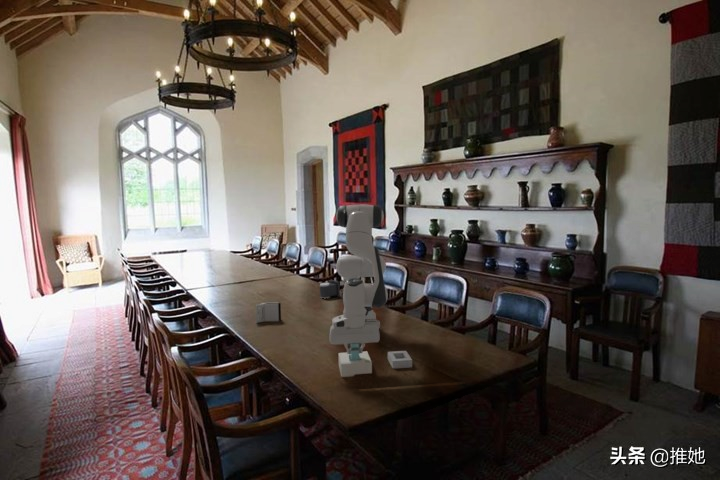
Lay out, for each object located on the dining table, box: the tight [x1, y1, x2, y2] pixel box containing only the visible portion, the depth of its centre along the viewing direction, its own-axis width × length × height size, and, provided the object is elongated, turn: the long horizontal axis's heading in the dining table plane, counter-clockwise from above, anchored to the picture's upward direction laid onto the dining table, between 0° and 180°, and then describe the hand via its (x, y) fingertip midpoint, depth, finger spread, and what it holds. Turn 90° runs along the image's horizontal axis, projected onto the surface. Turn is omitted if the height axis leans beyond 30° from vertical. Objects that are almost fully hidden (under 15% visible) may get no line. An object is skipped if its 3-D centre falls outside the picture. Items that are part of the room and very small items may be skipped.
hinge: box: [254, 301, 282, 324], centre depth 229 cm, size 14×5×10 cm, turn 104°
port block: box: [338, 350, 373, 378], centre depth 164 cm, size 12×12×5 cm
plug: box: [349, 343, 360, 361], centre depth 163 cm, size 4×3×10 cm
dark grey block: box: [318, 279, 341, 300], centre depth 283 cm, size 11×13×11 cm
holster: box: [387, 350, 413, 369], centre depth 168 cm, size 10×8×4 cm
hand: (354, 353), depth 163 cm, fingers open, 3 cm apart
